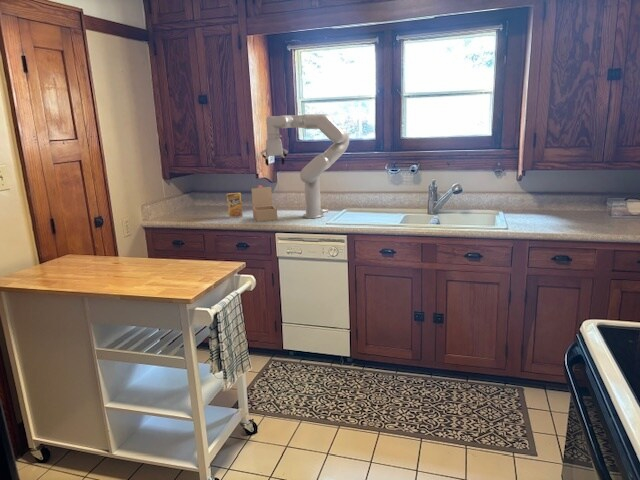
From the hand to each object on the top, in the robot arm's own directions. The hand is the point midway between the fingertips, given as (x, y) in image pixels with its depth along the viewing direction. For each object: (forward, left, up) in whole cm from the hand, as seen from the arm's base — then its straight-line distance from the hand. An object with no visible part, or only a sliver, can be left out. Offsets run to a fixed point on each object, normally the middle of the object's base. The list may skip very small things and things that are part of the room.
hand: (275, 165), depth 302 cm
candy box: (+26, -10, -32) cm, 43 cm away
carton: (+10, +6, -32) cm, 34 cm away
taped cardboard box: (+9, 0, -19) cm, 21 cm away
